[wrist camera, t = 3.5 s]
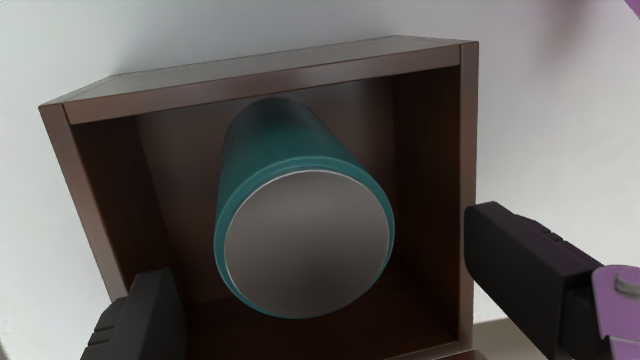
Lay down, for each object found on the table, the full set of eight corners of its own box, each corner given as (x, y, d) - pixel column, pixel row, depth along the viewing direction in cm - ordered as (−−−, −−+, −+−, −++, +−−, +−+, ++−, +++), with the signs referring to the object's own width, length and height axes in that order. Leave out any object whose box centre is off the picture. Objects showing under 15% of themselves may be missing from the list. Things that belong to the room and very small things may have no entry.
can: (199, 156, 20) (170, 264, 11) (272, 73, 20) (305, 117, 11) (280, 218, 22) (312, 353, 13) (349, 145, 22) (433, 234, 13)
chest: (109, 75, 19) (35, 106, 12) (396, 35, 21) (479, 40, 14) (180, 310, 24) (158, 429, 17) (407, 260, 26) (473, 349, 19)
